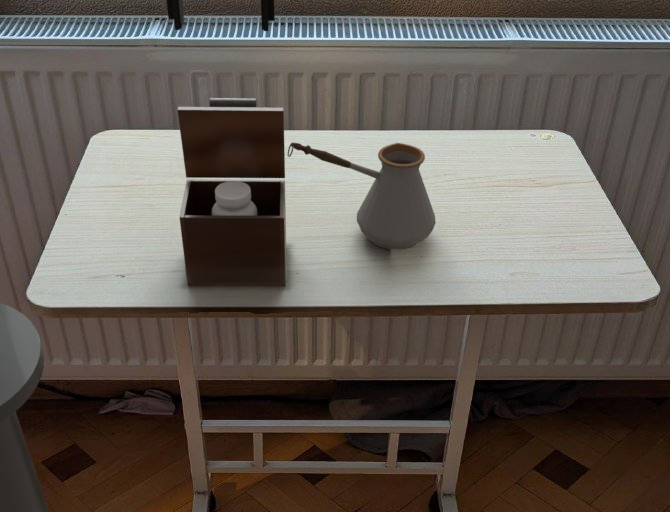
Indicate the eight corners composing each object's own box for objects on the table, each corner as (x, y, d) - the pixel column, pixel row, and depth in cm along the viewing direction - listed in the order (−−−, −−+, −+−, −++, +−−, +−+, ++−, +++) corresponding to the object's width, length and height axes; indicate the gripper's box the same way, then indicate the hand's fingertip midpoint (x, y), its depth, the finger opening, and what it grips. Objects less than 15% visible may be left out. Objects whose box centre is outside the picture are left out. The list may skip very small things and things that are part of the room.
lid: (283, 111, 104) (283, 88, 107) (177, 109, 103) (181, 87, 107) (285, 178, 112) (285, 155, 115) (186, 177, 111) (189, 154, 115)
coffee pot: (426, 213, 127) (436, 119, 117) (440, 256, 119) (453, 159, 108) (286, 217, 125) (284, 122, 115) (291, 261, 117) (289, 163, 106)
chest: (285, 286, 113) (284, 217, 105) (187, 286, 112) (179, 217, 105) (286, 246, 120) (285, 179, 112) (193, 246, 119) (186, 179, 112)
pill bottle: (252, 246, 118) (248, 174, 110) (265, 270, 114) (262, 197, 106) (211, 254, 117) (204, 181, 109) (222, 278, 112) (216, 204, 105)
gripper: (115, -148, 79) (140, 38, 90) (298, -144, 79) (299, 40, 91) (127, -164, 84) (149, 13, 96) (298, -160, 85) (299, 15, 96)
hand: (222, 26), depth 93 cm, fingers open, 9 cm apart
